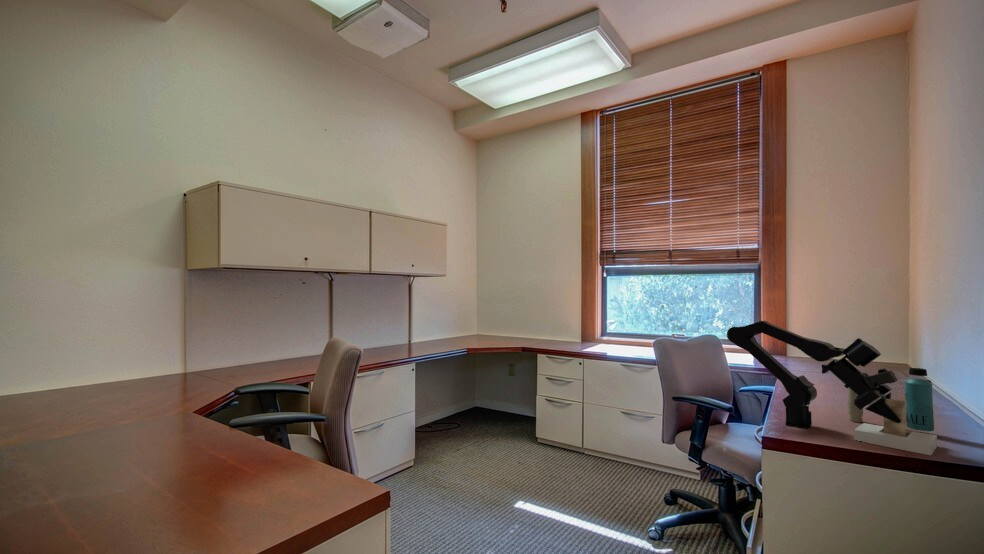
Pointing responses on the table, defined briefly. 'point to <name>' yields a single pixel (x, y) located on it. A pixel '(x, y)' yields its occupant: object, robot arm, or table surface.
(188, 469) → the table surface
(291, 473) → the table surface
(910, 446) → the block
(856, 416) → the handle
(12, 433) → the table surface
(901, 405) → the plug
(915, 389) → the beverage bottle
